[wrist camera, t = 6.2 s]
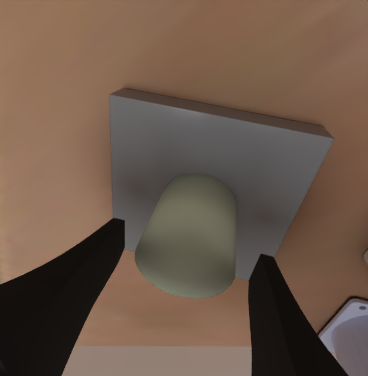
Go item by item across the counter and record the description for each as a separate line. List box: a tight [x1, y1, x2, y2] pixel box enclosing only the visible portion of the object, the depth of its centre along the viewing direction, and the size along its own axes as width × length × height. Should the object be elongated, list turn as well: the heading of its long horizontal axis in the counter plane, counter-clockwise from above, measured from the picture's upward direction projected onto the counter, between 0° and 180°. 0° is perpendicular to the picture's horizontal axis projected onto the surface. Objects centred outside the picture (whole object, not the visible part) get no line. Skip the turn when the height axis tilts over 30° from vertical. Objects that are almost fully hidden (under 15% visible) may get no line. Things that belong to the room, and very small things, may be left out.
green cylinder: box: [135, 173, 237, 298], centre depth 14 cm, size 5×5×5 cm
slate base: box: [109, 88, 334, 281], centre depth 17 cm, size 12×12×2 cm
